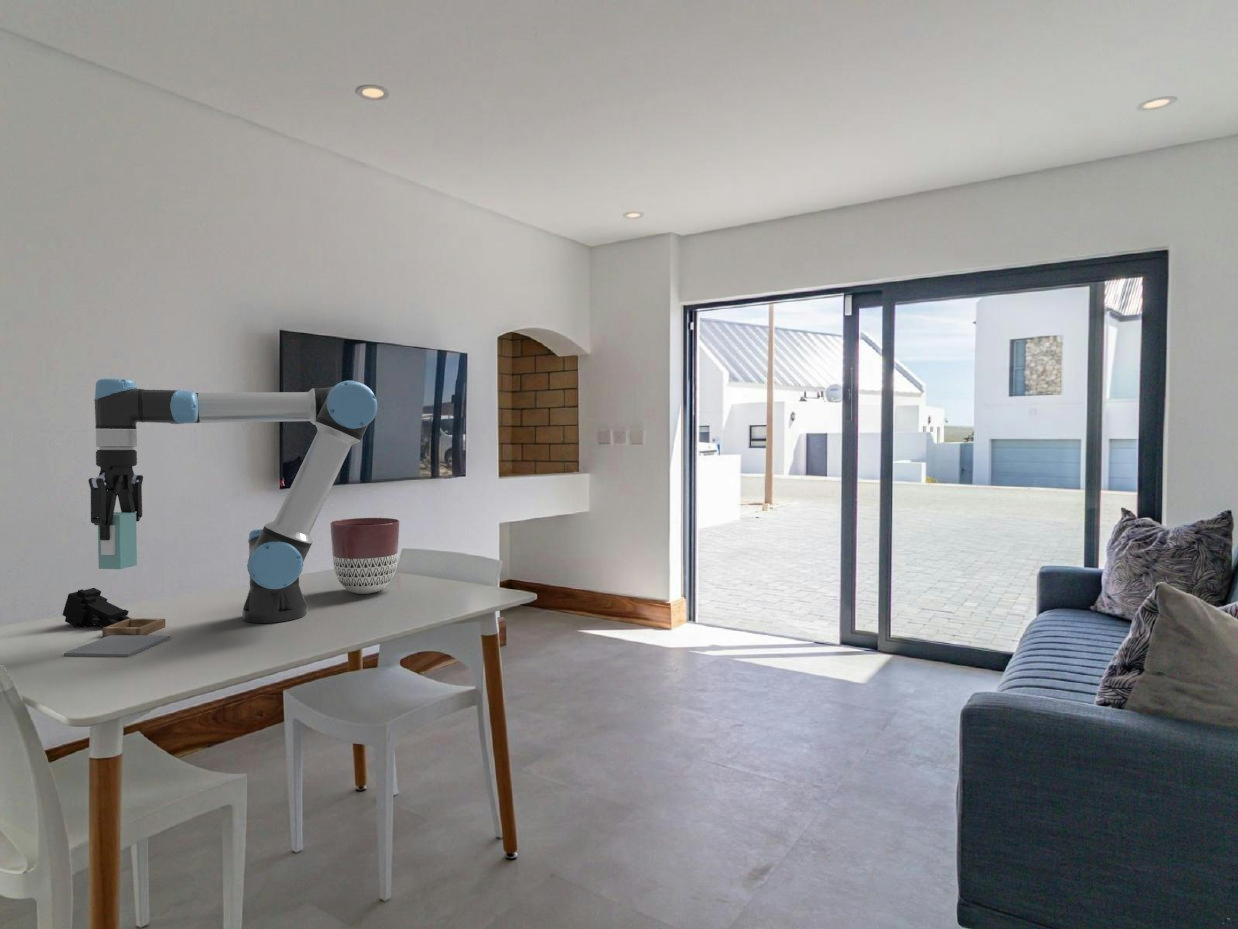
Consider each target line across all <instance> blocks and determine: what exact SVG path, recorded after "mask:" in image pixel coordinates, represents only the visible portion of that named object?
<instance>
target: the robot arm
mask: <svg viewBox="0 0 1238 929" xmlns="http://www.w3.org/2000/svg"><path fill="white" fill-rule="evenodd" d="M94 393H95V394H94V399H93V401H94V415H95V416H94V418H95V419H94V420H95V423H94V424H95V447H96V448H98V449H96V451H95V466H96V467H100V468H99V469H100V470H99V473H98V476H97V477H95V478H94V477H89V478H88V480H87V481H88V485H89V488H90V523H91V524H94V526H98V525H99V527H100V540H101V555H115V525H111V524H112V520H113V514H114V512H115V508H116V502H117V498H118V503H119V508H120V512H126V513H136V523H137V522H140V521H141V518H142V517H143V495H142V494H143V493H142V492H143V491H142V490H143V489H142V485H143V481H144V476H143V474H135V471H134V470H133V467H135V466H137V464H138V458H137V457H138V456H137V455H138V451H137V450H136V449H135V448H137V447H138V436H137V435H138V434H137V433H138V432H137V424H138V423H156V424H157V423H159V424H172V425H181V424H182V425H183V424H200V423H201V424H203V423H204V424H205V423H207V424H208V423H209V424H210V423H214V424H215V423H262V422H264V423H266V422H267V423H268V422H270V423H271V422H273V423H275V422H310V423H311V424H312V425H313V426H314V425H315V427H316V430H317V432H316V434H315V436H314V439H313V440H312V442H311V444H310V447H309V449H308V451H307V452H306V454H305V456H304V459H303V462H302V463H301V465H300V467H299V470H298V471H297V473H296V476H295V478H294V479H293V482H292V483H291V486H290V488H289V490H288V493H287V494H286V496H285V499H284V500H283V503H282V504H281V507H280V508H279V510H278V513H277V515H276V516H275V519H274V520H273V521H270V522H267V523H265V524H264V526H263V528H262V529H253V530H251V531H249V536H248V541H247V543H248V544H249V545H248V548H249V550H248V551H249V552H248V553H249V554H248V560H247V565H246V566H247V567H246V568H247V572H248V574H249V590H248V593H247V596H246V599H245V602H244V605H243V608H242V620H243V621H244V622H247V623H253V624H267V623H268V624H271V623H280V622H281V623H282V622H288V621H292V620H296V619H300V618H302V617H304V616H306V615H307V613H308V612H307V611H308V610H307V609H308V608H307V603H306V600H305V598H304V595H303V592H302V590H301V587H300V575H302V571H303V567H304V561H305V559H306V558H307V555H308V553H309V551H310V549H311V546H312V544H313V542H314V541H313V539H312V536H311V532H312V530H313V527H314V525H315V523H316V521H317V518H318V517H319V514H320V512H321V510H322V508H323V506H324V504H325V502H326V500H327V498H328V496H329V494H330V492H331V490H332V487H333V485H334V483H335V481H336V479H337V478H338V475H339V473H340V471H341V469H342V466H343V464H344V462H345V459H346V458H347V456H348V454H349V452H350V450H351V447H352V446H353V445H356V444H358V443H360V442H361V441H362V438H363V436H364V435H365V432H366V430H367V429H368V426H369V424H370V423H371V422H372V421H373V420H374V419H375V417H376V415H377V411H378V401H377V397H376V395H375V393H374V392H373V391H372V389H371V388H370V387H369V386H367V385H366V384H364V383H362V382H359V381H356V380H344V381H341V382H339V383H336V384H335V385H333V386H330V387H329V386H327V387H322V388H321V387H320V388H319V387H317V388H315V387H314V388H311V389H310V390H308V391H305V392H301V391H299V392H298V391H296V392H295V391H291V392H290V391H289V392H286V391H285V392H284V391H282V392H281V391H280V392H279V391H277V392H276V391H275V392H272V391H271V392H270V391H269V392H268V391H267V392H265V391H264V392H261V391H259V392H258V391H256V392H254V391H253V392H244V391H243V392H241V391H240V392H195V391H192V390H183V389H177V390H176V389H145V388H138V387H137V384H136V381H135V380H132V379H121V378H100V379H98V380H97V381H96V382H95V392H94Z"/></svg>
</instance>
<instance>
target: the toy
mask: <svg viewBox="0 0 1238 929" xmlns="http://www.w3.org/2000/svg"><path fill="white" fill-rule="evenodd" d="M101 594H102V591H101V590H100V589H97V587H92V588H87V589H84V588H82V589H78V590H77V591H74V592H70V593H68V594H67V597H66V601H65V605H64V606H63V607H64V608H63V611H62V614H61V615H62V616H63V617H65V619H64V622H65V623H67V624H69V625H71V626H73V627H75V628H78V627H82V628H86V627H89V626H96V625H98V626H100V627H102V628H104V627H107V626H110V625H112V624H115V623H118V622H121V621H123V620H126V619H129V618H130V616H128V615H129V610H127V609H123V608H120V607H119V606H116V605H115V604H113V603H110V602H109V601H108V598H106V597H104V596H102V595H101Z"/></svg>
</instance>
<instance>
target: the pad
mask: <svg viewBox="0 0 1238 929" xmlns="http://www.w3.org/2000/svg"><path fill="white" fill-rule="evenodd" d="M171 636H172V635H161V634H160V635H159V634H158V635H154V634H153V635H152V634H151V635H149V634H147V635H110V636H107V637H103V638H98V639H97V640H95V641H92V642H89V643H86V644H83V645H81V646H79V647H76V648H74V649H71V650H67V651H65V652H64V653H63V656H64V657H107V658H108V657H110V658H111V657H113V658H114V657H118V658H121V657H122V658H124V657H125V658H129V657H132V656H134V655H136V654H138V653H140V652H143V651H144V650H147V649H150V648H151V647H154V646H156V645H159V644H161V643H163V642H165V641H168V640H170V639H171Z"/></svg>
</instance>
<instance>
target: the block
mask: <svg viewBox="0 0 1238 929" xmlns="http://www.w3.org/2000/svg"><path fill="white" fill-rule="evenodd" d="M136 513H137V512H136ZM136 513H126V512H121V511H120V512H116V511H114V514H113V520H112V524H111V525H115V555H101V540H100V527H99V525H97V539H98V540H97V545H98V546H97V547H98V548H97V549H98V550H97V551H98V552H97V553H98V557H97V558H98V569H99V570H123V569H127V568H132V567H136V566H138V565H137V564H138V561H137V559H138V556H137V549H138V548H137V522H136Z"/></svg>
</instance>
